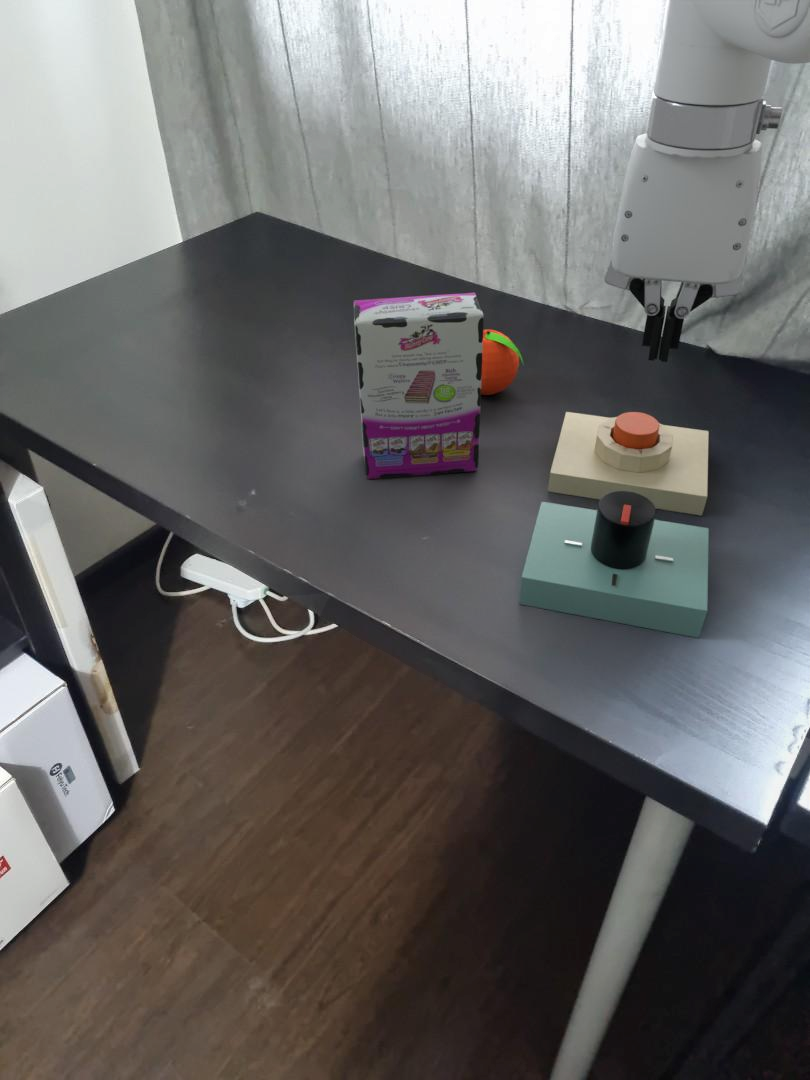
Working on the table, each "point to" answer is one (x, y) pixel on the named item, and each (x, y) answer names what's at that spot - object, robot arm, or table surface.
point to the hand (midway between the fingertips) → (658, 353)
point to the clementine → (498, 362)
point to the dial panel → (617, 574)
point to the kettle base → (631, 464)
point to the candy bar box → (419, 383)
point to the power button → (636, 430)
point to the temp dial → (622, 529)
